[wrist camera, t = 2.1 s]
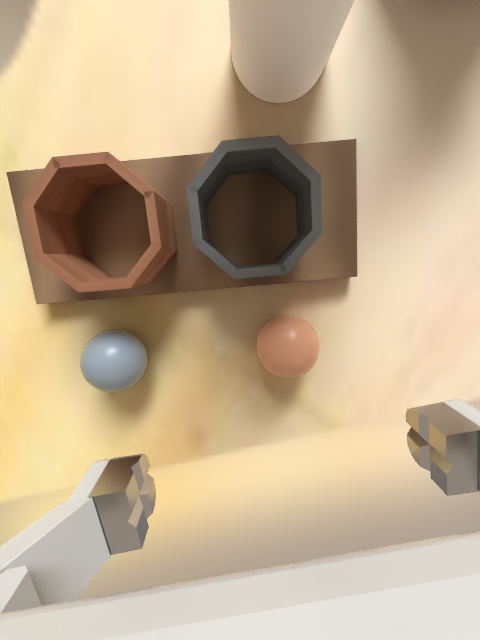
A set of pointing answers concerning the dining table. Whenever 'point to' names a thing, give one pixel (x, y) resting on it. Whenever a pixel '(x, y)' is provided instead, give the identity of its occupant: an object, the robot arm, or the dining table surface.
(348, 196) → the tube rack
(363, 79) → the dining table surface
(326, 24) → the cylindrical container
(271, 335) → the terracotta ball
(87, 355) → the slate ball
